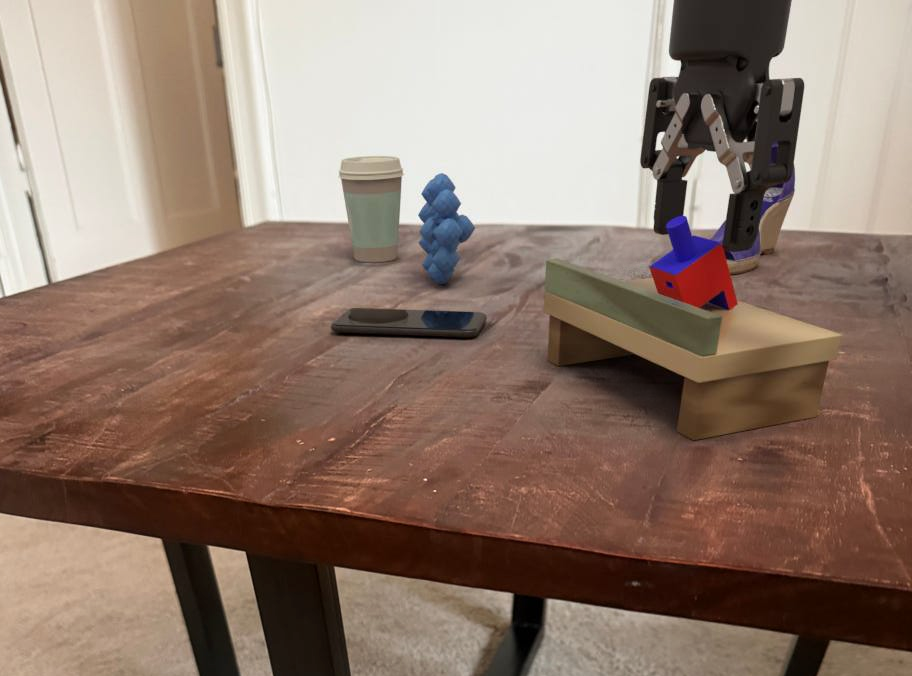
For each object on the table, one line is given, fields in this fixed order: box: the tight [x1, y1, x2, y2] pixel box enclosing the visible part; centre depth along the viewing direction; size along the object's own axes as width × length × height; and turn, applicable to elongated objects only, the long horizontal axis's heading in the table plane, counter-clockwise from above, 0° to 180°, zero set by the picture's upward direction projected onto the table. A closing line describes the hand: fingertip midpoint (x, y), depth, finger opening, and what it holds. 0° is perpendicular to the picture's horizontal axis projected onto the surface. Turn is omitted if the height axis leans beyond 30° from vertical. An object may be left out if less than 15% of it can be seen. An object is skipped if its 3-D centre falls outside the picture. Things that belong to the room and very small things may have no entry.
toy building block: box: [648, 215, 738, 310], centre depth 67 cm, size 4×4×8 cm
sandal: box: [710, 137, 796, 276], centre depth 107 cm, size 8×20×15 cm, turn 133°
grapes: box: [417, 172, 476, 285], centre depth 102 cm, size 12×7×12 cm, turn 13°
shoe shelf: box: [543, 258, 843, 441], centre depth 69 cm, size 12×22×8 cm, turn 22°
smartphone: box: [330, 307, 488, 338], centre depth 88 cm, size 7×1×15 cm
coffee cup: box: [338, 155, 405, 264], centre depth 116 cm, size 9×9×12 cm
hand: (700, 241), depth 66 cm, fingers open, 8 cm apart
